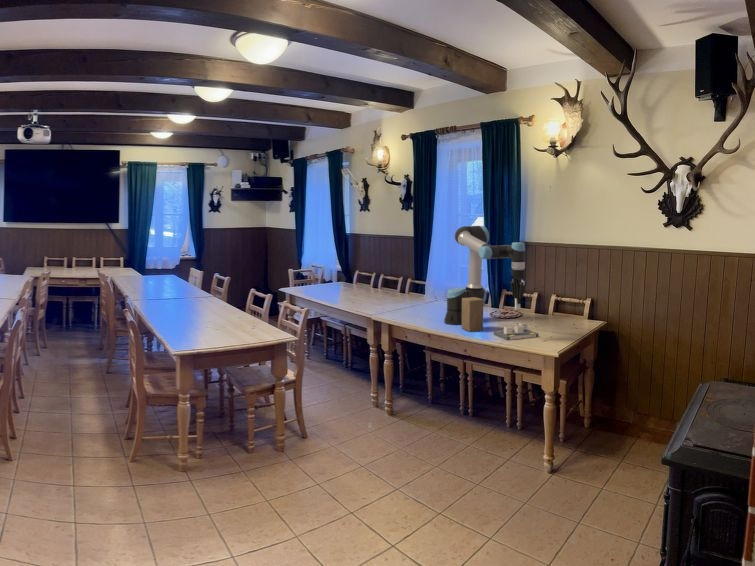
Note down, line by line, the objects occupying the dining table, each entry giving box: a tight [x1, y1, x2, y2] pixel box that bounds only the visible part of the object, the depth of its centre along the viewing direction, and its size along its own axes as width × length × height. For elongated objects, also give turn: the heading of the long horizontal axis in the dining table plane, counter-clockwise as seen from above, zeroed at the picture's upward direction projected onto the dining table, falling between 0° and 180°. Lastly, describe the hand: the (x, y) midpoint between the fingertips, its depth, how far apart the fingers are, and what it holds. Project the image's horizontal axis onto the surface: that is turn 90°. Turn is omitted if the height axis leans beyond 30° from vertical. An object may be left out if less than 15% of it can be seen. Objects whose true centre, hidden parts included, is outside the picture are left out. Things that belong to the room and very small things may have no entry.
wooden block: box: [461, 297, 484, 333], centre depth 324 cm, size 10×10×20 cm
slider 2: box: [514, 325, 523, 334], centre depth 305 cm, size 3×4×4 cm
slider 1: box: [503, 325, 514, 335], centre depth 304 cm, size 3×4×4 cm
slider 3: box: [518, 322, 528, 330], centre depth 313 cm, size 3×4×4 cm
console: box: [493, 328, 539, 341], centre depth 309 cm, size 14×22×2 cm, turn 110°
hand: (517, 309), depth 300 cm, fingers closed
